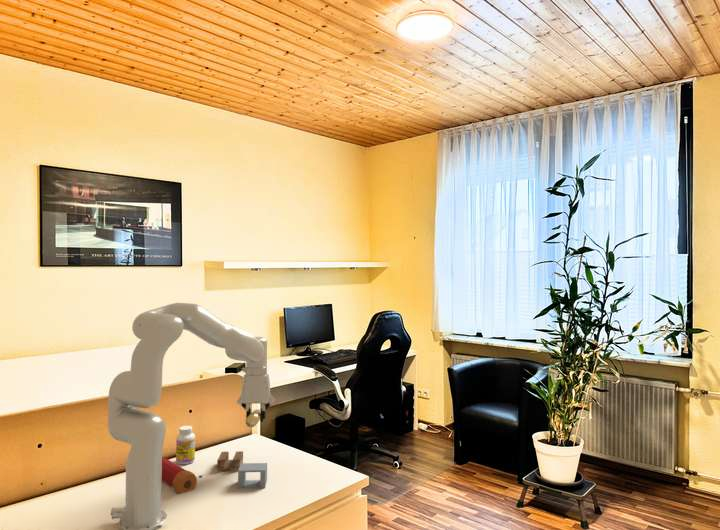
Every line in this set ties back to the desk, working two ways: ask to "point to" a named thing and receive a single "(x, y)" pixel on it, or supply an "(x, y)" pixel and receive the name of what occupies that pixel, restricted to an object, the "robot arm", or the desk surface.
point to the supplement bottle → (185, 445)
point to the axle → (253, 418)
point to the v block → (229, 462)
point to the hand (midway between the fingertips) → (255, 420)
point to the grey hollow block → (252, 468)
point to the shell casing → (177, 477)
